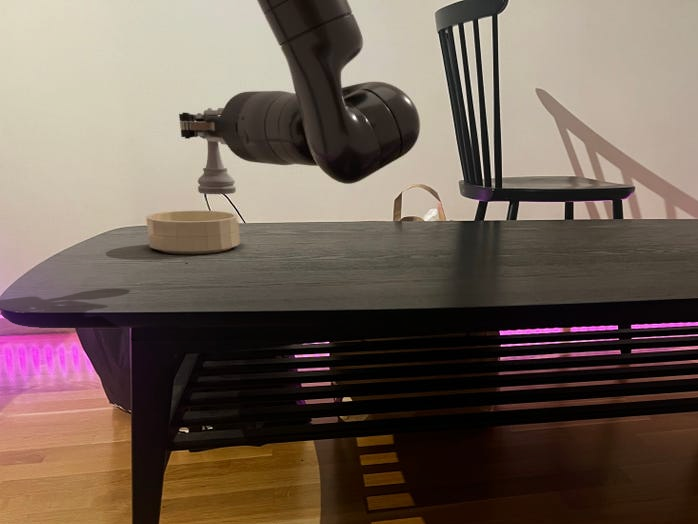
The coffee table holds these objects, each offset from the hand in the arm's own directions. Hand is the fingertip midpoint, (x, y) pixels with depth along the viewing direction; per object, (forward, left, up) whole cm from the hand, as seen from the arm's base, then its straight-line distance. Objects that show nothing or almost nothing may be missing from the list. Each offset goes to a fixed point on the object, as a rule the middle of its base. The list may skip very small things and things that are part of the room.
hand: (200, 125), depth 87 cm
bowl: (+7, +20, -19) cm, 28 cm away
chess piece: (0, -3, -8) cm, 9 cm away
